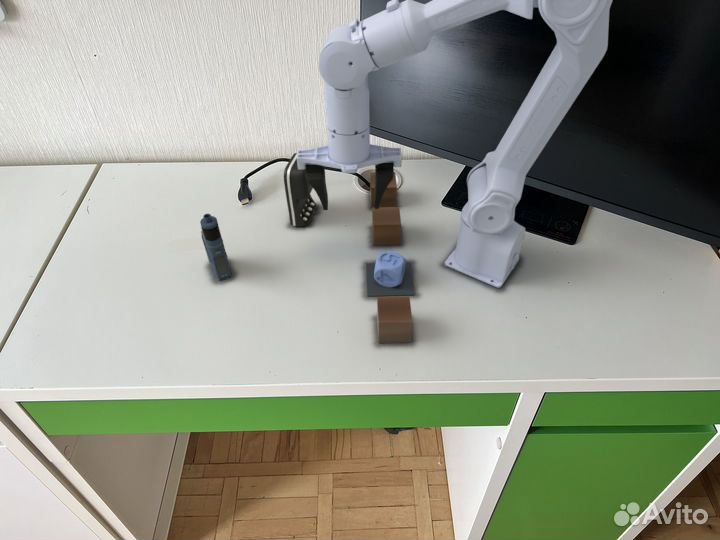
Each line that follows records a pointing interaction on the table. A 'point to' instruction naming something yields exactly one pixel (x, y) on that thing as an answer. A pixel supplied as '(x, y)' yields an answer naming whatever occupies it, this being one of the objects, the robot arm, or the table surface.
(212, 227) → the vaping device
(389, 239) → the block mid
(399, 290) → the pad
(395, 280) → the decorative dice
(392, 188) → the block far
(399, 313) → the block near
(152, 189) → the table surface
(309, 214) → the battery charger
